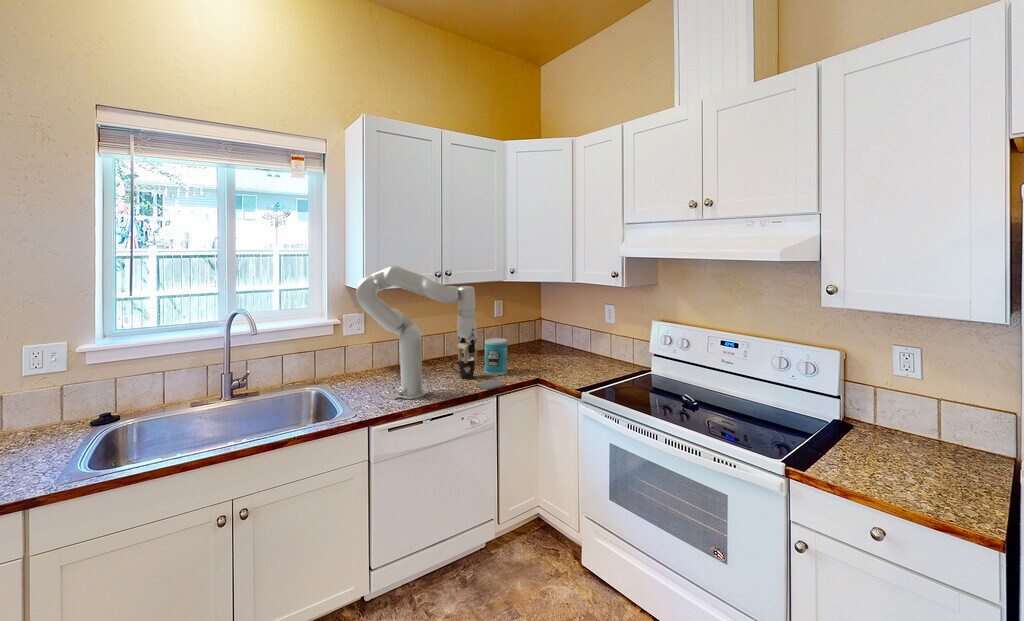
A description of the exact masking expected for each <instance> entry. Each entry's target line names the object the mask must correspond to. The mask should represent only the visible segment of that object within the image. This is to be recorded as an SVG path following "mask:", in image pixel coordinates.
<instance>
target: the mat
mask: <svg viewBox="0 0 1024 621" xmlns="http://www.w3.org/2000/svg"><path fill="white" fill-rule="evenodd" d="M503 385H506V386H507V383H505V382H502V381H500V380H496V379H493V380H488V381H483V382H481V383H477V384H475V387H477V386H478V387H477V388H479V389H482V388H483V389H482V390H485V389H486V390H485V391H490V390H494V389H496V388H497V387H498V388H501V387H500V386H502V387H504V386H503ZM493 388H494V389H493ZM489 389H490V390H489Z"/></svg>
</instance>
